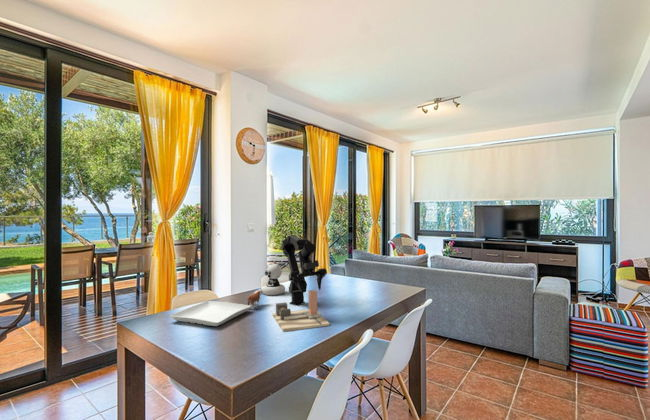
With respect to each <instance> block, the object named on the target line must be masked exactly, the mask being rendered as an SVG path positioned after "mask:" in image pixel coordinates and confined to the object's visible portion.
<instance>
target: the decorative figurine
mask: <svg viewBox="0 0 650 420" xmlns="http://www.w3.org/2000/svg"><path fill="white" fill-rule="evenodd" d="M266 265H267V268H266V270H265V271H264V275H265V276H267V277H268V281H267V283H266V284H264V285H263V286H262V287H261V288H260V289H261V290H262V291H263V293H264V294H263V295H266V296H278V295H281V294H284V293H285V291H286V287H285V285H283V284H281V283H280V281H279V278H280V277H281V275H282V272H283V269H282V268H281V266H280V261H278V262H277V263H273V264H269V263H268V262H267V263H266Z"/></svg>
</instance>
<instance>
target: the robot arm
mask: <svg viewBox="0 0 650 420" xmlns="http://www.w3.org/2000/svg"><path fill="white" fill-rule="evenodd" d="M280 248H281V251H282V252H283V255H284V256H285V257H286V258H287V261H288V266H289V270H290V272H289V274H288V281H290V283H289V285H288V292H289V293H290V295H291V301H289V304H290V305H293V306H294V305H295V306H299V305H304V304H306V301H305V295H304V293H306V292H307V289H308V288H307V287H308V283H307V280H306V279H305V277H312V276H316V283H317V286H318V290H319V291H320V290H321V289H322V287H321V286H322V280H323V279H324V277H326V275H327V274H328V271H327V269H326V268H319V266H320V262H319V259H318V260H313V261H312V260H311V256H313V254H314V253H315V251H316V245H315V244H314V243H312V242H311V240H309V239H308V238H300V237H298V236H297V235H295V234H293V235H292V234H289V235H287V236H286V238H285V239H284V240H282V241H281V245H280ZM296 250H297V251H299V252H298V255H297V257H298V259H299V260H298V261H297V257H296ZM298 262H299V265H298ZM317 267H318V269H317V271H316V268H317Z"/></svg>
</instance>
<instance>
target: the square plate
mask: <svg viewBox="0 0 650 420" xmlns="http://www.w3.org/2000/svg"><path fill="white" fill-rule="evenodd" d="M251 307H252V305H251V304H249V305H248V304H242V303H235V302H227V301H213V300H208V301H204V302H202V303H199V304H195V305H192V306H190V307H187V308H184V309H182V310H180V311H177V312H176V313H173V314H171V315H169V317H170V318H172V319H173V320H175V321H177V322H178V321H179V322H184V323H188V322H190V323H189V324H195V323H197V324H196V325H202V324H203V326H212V327H219V326H220V325H223V324H225V323H226V322H228V321H230V320H232V319H234V318H236V317H238V316H240V315H242V314H244V313H246V312H247V311H249V308H251Z"/></svg>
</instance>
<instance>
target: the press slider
mask: <svg viewBox="0 0 650 420" xmlns="http://www.w3.org/2000/svg"><path fill="white" fill-rule="evenodd" d="M308 309H309V311H308V312H305V313H302V314H293V315H291V310H292V309H290V308H287V309H282V310H280V319H281V320H283V319H284V320H289V319H297V318H305V317H308V318H317V317H321V316H322V313H320V311H318V291H317V290H316V289H313V290H308Z"/></svg>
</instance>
